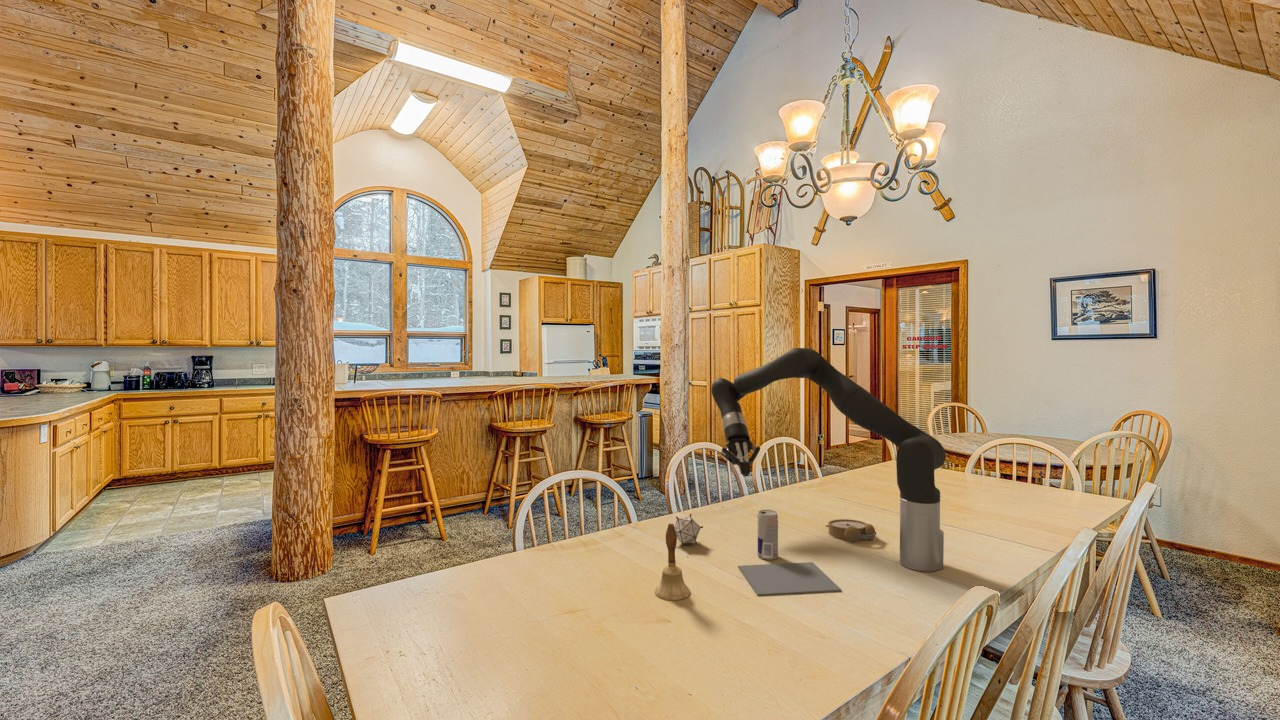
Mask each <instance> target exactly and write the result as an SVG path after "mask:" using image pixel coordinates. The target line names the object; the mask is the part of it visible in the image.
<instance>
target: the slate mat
mask: <svg viewBox="0 0 1280 720" xmlns="http://www.w3.org/2000/svg"><path fill="white" fill-rule="evenodd" d="M737 568H738V569H739V571H740V573H741V574H742V576H743V577H744V578H745V580H746V581H747V583H748V584H749V585H750V587H751V589H752V590H753V591H754V594H755V595H756V596H758V597H759V595H760V597H761V595H762V596H776V595H777V596H778V595H779V594H781V595H795V594H796V595H797V594H815V593H816V594H817V592H818V593H831V592H833V593H836V592H842V588H841V587H839V585H837V584H836V583H835V582H834V581H833V579H831V578H830V577H829V576H828V575H827V574H826V573H825V572H824V571H823V570H822V569H820V567H819V566H817V564H815V563H814V562H813V561H811V562H809V561H808V562H789V563H785V562H784V563H771V564H769V563H767V564H748V565H747V564H746V565H745V564H744V565H737Z"/></svg>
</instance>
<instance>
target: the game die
mask: <svg viewBox="0 0 1280 720" xmlns="http://www.w3.org/2000/svg"><path fill="white" fill-rule="evenodd" d="M675 519H676V522H675V525H674V528H675V531H676V535H677V541H679V542H680V543H681V547H684V544H685V545H686V544H689V543H695V544H696V543H697V544H698V542H697V538H698V536H699V533H700V532H701V531H700V530H701V529H703V528H704V526H703V525H701V526H700V525H699V524H698V523H697V522H696V521H695V519H694V518H693V517H692V513H689V516H685V517H678V516H675Z"/></svg>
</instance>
